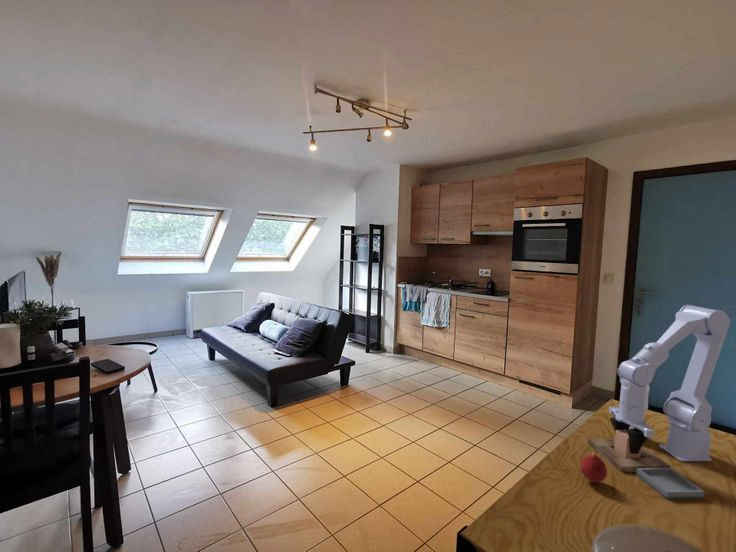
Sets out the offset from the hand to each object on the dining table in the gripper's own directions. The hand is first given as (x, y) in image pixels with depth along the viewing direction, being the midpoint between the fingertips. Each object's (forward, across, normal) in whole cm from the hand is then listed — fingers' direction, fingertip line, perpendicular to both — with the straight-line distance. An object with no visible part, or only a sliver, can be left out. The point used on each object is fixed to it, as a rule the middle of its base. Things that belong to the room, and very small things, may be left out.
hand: (627, 448), depth 108 cm
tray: (+3, +13, +1) cm, 13 cm away
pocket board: (+3, 0, 0) cm, 3 cm away
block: (+3, 0, 0) cm, 3 cm away
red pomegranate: (+3, +11, -18) cm, 21 cm away
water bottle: (+3, -11, +10) cm, 15 cm away
